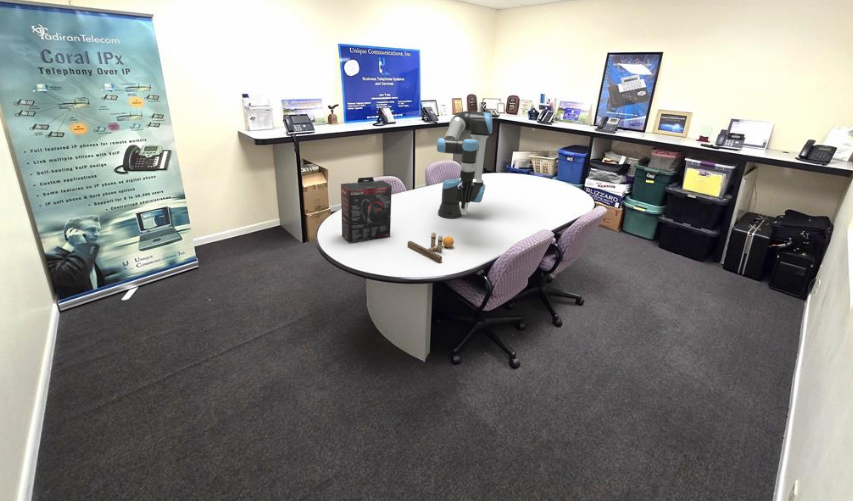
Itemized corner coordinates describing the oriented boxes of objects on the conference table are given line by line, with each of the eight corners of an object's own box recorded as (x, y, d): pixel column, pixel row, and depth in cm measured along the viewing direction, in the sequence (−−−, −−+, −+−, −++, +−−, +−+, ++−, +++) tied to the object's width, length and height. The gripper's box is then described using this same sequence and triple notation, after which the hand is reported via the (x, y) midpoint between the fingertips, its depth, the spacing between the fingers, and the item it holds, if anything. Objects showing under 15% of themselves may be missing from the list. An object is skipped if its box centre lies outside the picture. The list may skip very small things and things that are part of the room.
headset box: (382, 229, 239) (382, 173, 226) (391, 237, 230) (392, 178, 216) (341, 235, 227) (339, 176, 214) (349, 244, 218) (347, 182, 204)
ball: (438, 243, 220) (445, 246, 224) (446, 247, 216) (452, 250, 221) (443, 233, 220) (449, 236, 224) (451, 237, 216) (457, 240, 220)
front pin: (439, 243, 219) (428, 247, 213) (443, 245, 217) (431, 248, 212) (439, 247, 220) (427, 251, 214) (442, 249, 218) (431, 253, 213)
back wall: (410, 245, 220) (410, 240, 219) (441, 261, 204) (442, 256, 203) (407, 246, 219) (407, 241, 217) (438, 263, 203) (439, 257, 201)
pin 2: (439, 250, 216) (440, 235, 213) (442, 252, 215) (443, 236, 211) (435, 251, 215) (437, 236, 211) (439, 253, 213) (440, 238, 210)
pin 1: (432, 247, 220) (433, 232, 216) (436, 248, 218) (437, 233, 215) (429, 248, 218) (430, 233, 215) (432, 249, 217) (433, 234, 213)
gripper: (464, 173, 206) (460, 218, 215) (481, 170, 214) (476, 213, 223) (453, 170, 210) (450, 214, 220) (470, 167, 219) (466, 209, 228)
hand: (463, 213), depth 222 cm, fingers closed
